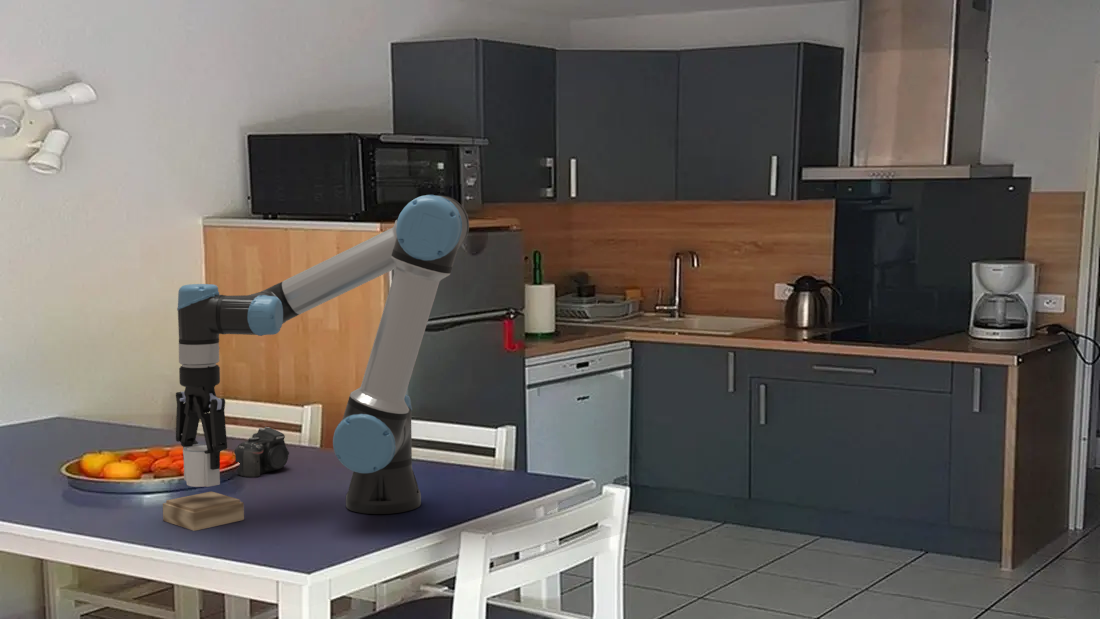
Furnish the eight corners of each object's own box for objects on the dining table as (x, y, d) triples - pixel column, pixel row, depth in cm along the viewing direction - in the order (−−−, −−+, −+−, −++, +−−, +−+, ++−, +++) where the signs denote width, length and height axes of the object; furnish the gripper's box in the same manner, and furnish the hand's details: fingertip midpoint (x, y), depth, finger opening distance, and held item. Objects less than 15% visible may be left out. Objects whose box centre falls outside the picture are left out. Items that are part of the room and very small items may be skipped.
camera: (272, 479, 282) (271, 435, 281) (231, 477, 284) (230, 433, 283) (297, 466, 295) (296, 424, 294) (258, 464, 297) (257, 422, 296)
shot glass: (175, 485, 244) (175, 449, 244) (198, 477, 251) (197, 443, 250) (205, 488, 242) (204, 452, 241) (227, 481, 248) (226, 446, 247)
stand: (244, 519, 247) (243, 499, 247) (194, 530, 239) (193, 510, 239) (212, 510, 254) (212, 490, 254) (163, 520, 246) (162, 500, 246)
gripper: (245, 367, 240) (247, 487, 242) (188, 358, 253) (191, 471, 255) (211, 371, 234) (213, 494, 237) (154, 361, 248) (157, 477, 250)
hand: (201, 482), depth 246 cm, fingers closed on shot glass, 7 cm apart
